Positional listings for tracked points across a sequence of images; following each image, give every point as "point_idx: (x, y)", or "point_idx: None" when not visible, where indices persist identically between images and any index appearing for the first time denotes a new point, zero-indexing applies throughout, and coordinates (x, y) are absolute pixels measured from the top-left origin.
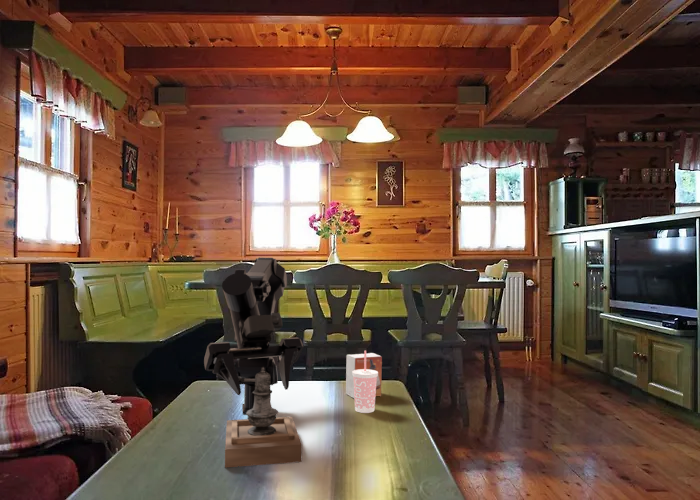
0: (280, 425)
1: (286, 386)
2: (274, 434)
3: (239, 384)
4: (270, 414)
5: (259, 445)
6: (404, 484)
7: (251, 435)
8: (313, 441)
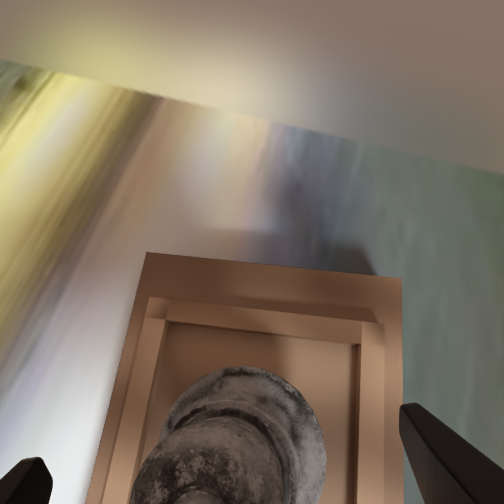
0: None
1: (37, 462)
2: None
3: (431, 442)
4: (210, 382)
5: (282, 281)
6: (6, 99)
7: None
8: (58, 437)
